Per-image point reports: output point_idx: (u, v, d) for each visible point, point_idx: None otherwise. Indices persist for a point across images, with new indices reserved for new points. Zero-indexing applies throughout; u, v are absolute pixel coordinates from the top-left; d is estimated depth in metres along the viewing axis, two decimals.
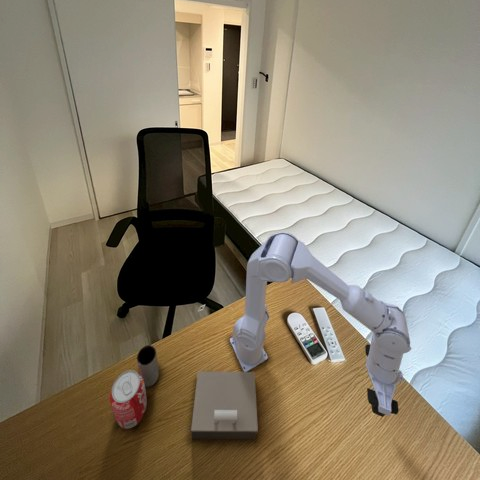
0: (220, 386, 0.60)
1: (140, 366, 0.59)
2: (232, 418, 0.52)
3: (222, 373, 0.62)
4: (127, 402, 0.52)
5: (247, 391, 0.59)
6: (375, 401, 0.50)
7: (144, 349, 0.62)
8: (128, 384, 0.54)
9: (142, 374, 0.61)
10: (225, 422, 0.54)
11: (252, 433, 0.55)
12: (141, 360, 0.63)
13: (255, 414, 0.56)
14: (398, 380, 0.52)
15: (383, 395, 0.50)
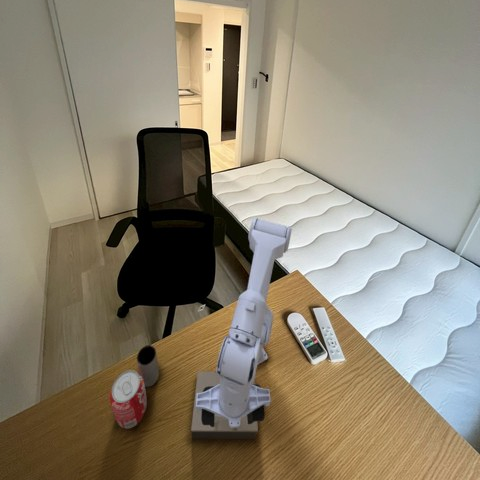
0: None
1: (140, 366, 0.59)
2: None
3: None
4: (127, 402, 0.52)
5: None
6: None
7: (144, 349, 0.62)
8: (128, 384, 0.54)
9: (142, 374, 0.61)
10: (225, 422, 0.54)
11: (252, 433, 0.55)
12: (141, 360, 0.63)
13: None
14: (228, 419, 0.45)
15: (207, 398, 0.47)
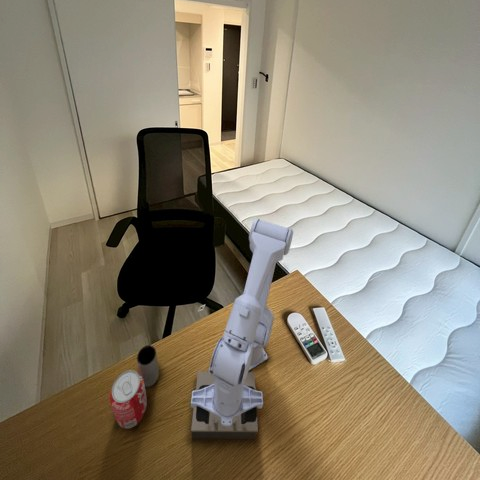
0: None
1: (140, 365, 0.59)
2: None
3: None
4: (127, 402, 0.52)
5: None
6: None
7: (144, 349, 0.62)
8: (128, 384, 0.54)
9: (142, 374, 0.61)
10: None
11: (252, 433, 0.55)
12: (141, 360, 0.63)
13: None
14: (221, 418, 0.47)
15: (202, 396, 0.49)
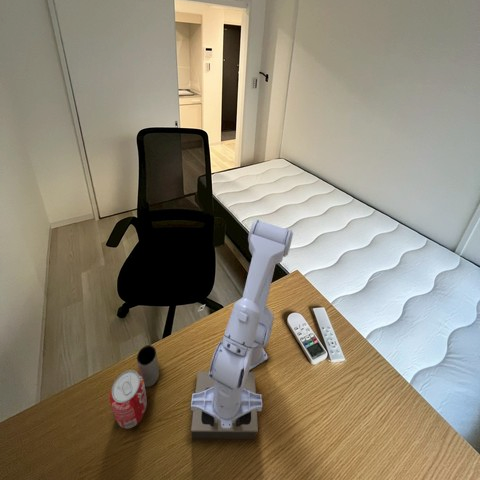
0: None
1: (140, 366, 0.59)
2: None
3: None
4: (127, 402, 0.52)
5: None
6: None
7: (144, 349, 0.62)
8: (128, 384, 0.54)
9: (142, 374, 0.61)
10: None
11: (252, 433, 0.55)
12: (141, 360, 0.63)
13: (255, 414, 0.56)
14: (221, 421, 0.47)
15: (202, 399, 0.50)
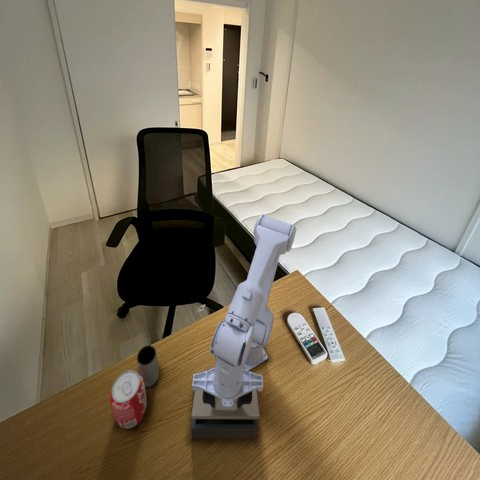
0: None
1: (140, 366, 0.59)
2: None
3: None
4: (127, 402, 0.52)
5: None
6: None
7: (144, 349, 0.62)
8: (128, 384, 0.54)
9: (142, 374, 0.61)
10: (226, 409, 0.53)
11: (252, 433, 0.55)
12: (141, 360, 0.63)
13: (256, 403, 0.55)
14: (222, 400, 0.48)
15: (203, 379, 0.50)
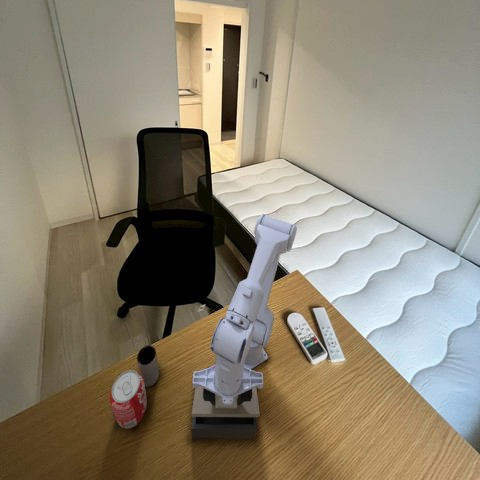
0: None
1: (140, 366, 0.59)
2: None
3: None
4: (127, 402, 0.52)
5: None
6: None
7: (144, 349, 0.62)
8: (128, 384, 0.54)
9: (142, 374, 0.61)
10: (226, 407, 0.53)
11: (252, 433, 0.55)
12: (141, 360, 0.63)
13: (256, 402, 0.55)
14: (222, 397, 0.48)
15: (204, 376, 0.50)
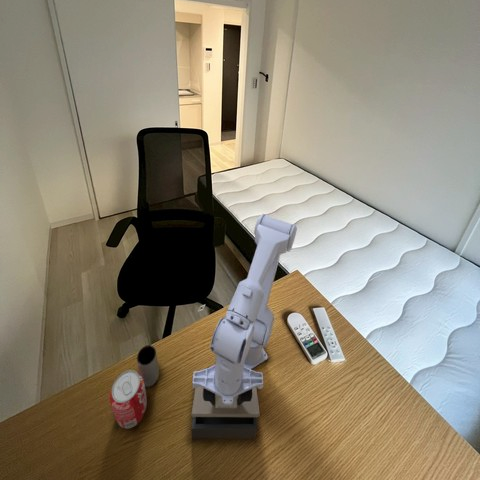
0: None
1: (140, 366, 0.59)
2: None
3: None
4: (127, 402, 0.52)
5: None
6: None
7: (144, 349, 0.62)
8: (128, 384, 0.54)
9: (142, 374, 0.61)
10: (226, 407, 0.53)
11: (252, 433, 0.55)
12: (141, 360, 0.63)
13: (256, 402, 0.55)
14: (222, 397, 0.48)
15: (204, 376, 0.50)
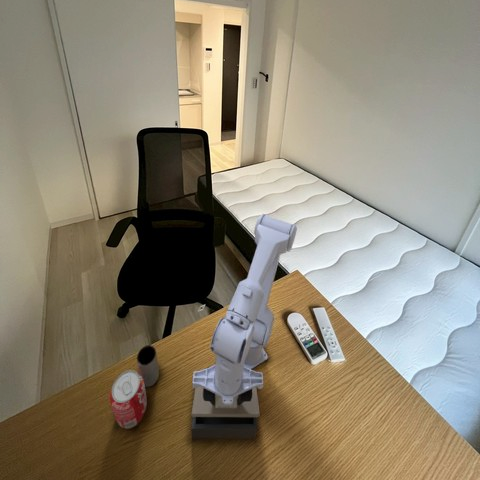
0: None
1: (140, 366, 0.59)
2: None
3: None
4: (127, 402, 0.52)
5: None
6: None
7: (144, 349, 0.62)
8: (128, 384, 0.54)
9: (142, 374, 0.61)
10: (226, 407, 0.53)
11: (252, 433, 0.55)
12: (141, 360, 0.63)
13: (256, 402, 0.55)
14: (222, 397, 0.48)
15: (204, 376, 0.50)
